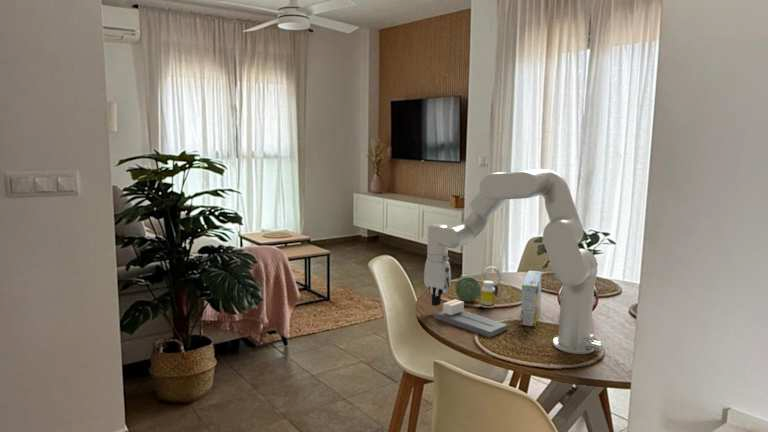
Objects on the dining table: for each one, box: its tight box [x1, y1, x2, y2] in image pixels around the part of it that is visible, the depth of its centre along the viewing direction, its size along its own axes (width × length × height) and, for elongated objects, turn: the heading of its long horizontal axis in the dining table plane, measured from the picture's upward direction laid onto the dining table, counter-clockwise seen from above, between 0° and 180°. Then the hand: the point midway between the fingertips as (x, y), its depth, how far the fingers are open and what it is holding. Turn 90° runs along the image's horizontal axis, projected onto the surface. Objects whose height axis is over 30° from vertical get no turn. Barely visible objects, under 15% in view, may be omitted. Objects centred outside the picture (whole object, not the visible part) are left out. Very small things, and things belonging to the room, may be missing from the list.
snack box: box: [520, 270, 543, 328], centre depth 191 cm, size 21×6×15 cm, turn 159°
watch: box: [482, 265, 503, 294], centre depth 222 cm, size 6×8×11 cm
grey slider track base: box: [435, 310, 509, 338], centre depth 184 cm, size 24×10×2 cm, turn 43°
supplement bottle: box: [479, 280, 496, 309], centre depth 203 cm, size 5×5×10 cm
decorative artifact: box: [454, 275, 481, 302], centre depth 208 cm, size 10×7×10 cm
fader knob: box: [442, 298, 465, 315], centre depth 189 cm, size 4×7×4 cm, turn 133°
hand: (436, 304), depth 195 cm, fingers closed
